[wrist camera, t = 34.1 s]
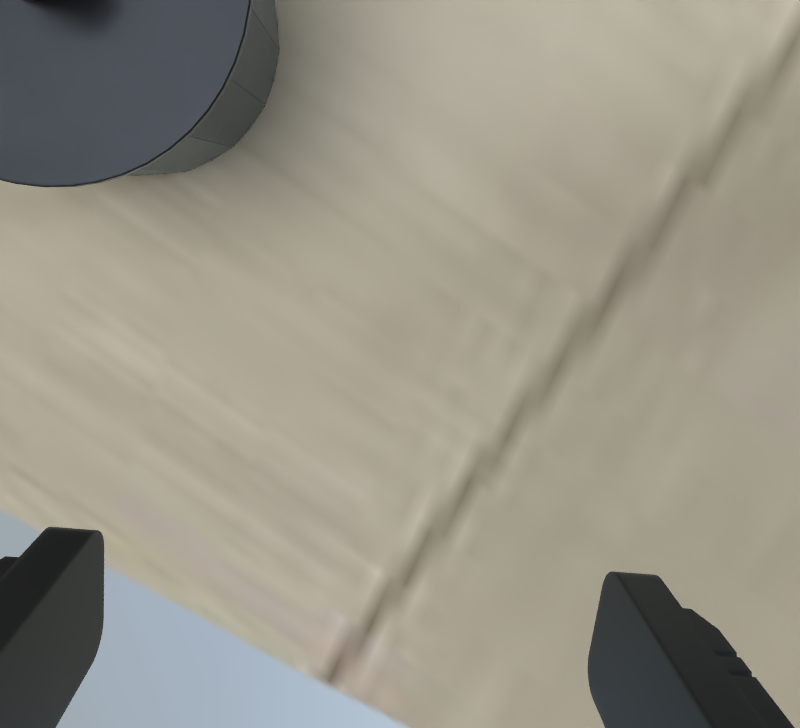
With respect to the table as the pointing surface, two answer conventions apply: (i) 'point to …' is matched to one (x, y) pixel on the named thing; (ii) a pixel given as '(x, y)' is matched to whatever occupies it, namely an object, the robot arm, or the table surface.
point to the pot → (231, 99)
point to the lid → (109, 82)
